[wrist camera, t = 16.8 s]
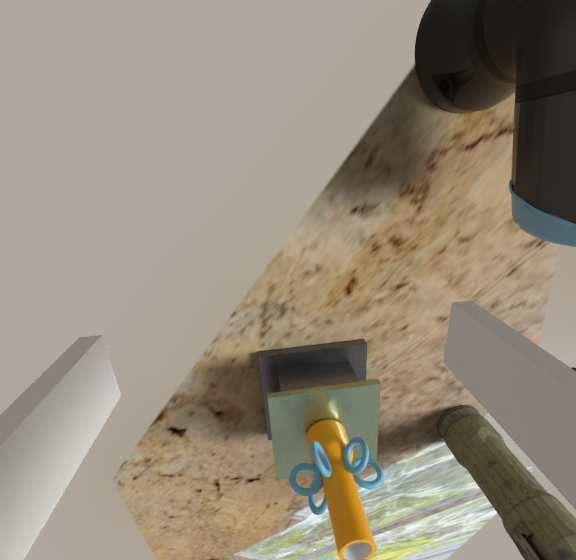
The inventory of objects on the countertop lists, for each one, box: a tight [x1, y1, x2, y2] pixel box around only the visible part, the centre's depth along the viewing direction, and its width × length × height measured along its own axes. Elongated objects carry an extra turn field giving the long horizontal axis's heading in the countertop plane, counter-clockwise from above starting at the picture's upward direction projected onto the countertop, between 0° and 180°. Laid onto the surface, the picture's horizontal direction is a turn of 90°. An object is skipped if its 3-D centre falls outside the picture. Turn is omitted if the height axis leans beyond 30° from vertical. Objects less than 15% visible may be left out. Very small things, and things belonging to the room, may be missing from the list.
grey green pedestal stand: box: [258, 339, 381, 480], centre depth 51 cm, size 18×18×10 cm
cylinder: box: [289, 420, 384, 560], centre depth 39 cm, size 12×10×15 cm
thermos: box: [438, 405, 576, 560], centre depth 46 cm, size 9×12×35 cm
